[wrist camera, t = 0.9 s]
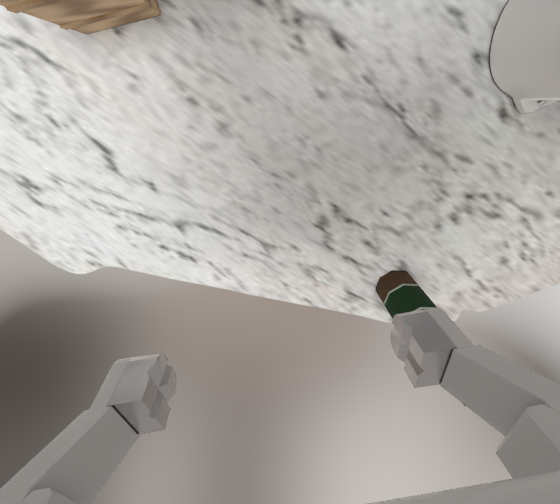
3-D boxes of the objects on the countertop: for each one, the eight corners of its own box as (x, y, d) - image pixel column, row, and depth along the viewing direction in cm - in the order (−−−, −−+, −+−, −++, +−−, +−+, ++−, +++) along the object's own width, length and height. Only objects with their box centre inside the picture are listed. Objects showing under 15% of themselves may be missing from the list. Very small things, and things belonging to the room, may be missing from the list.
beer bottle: (373, 274, 52) (448, 392, 31) (411, 264, 51) (513, 378, 31) (376, 301, 56) (444, 420, 36) (411, 292, 55) (501, 408, 35)
